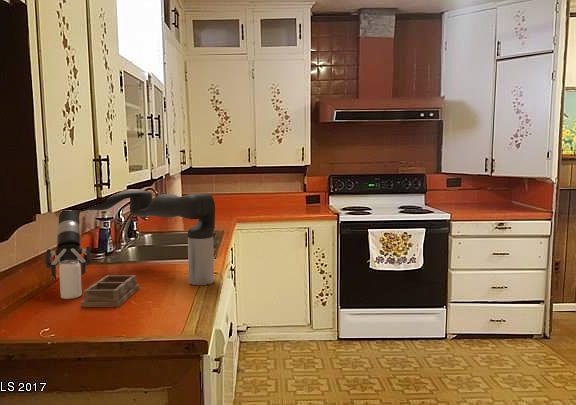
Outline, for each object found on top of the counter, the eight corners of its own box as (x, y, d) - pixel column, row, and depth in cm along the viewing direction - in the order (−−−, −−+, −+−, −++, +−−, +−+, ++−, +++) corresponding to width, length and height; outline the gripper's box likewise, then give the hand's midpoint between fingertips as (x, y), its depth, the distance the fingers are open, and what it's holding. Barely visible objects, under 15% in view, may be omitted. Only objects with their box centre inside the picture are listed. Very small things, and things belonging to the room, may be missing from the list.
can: (76, 299, 159) (75, 263, 158) (57, 299, 159) (55, 263, 158) (84, 293, 166) (83, 259, 165) (66, 294, 166) (64, 259, 165)
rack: (105, 288, 172) (104, 275, 172) (139, 288, 172) (138, 274, 172) (81, 306, 151) (80, 291, 151) (119, 306, 151) (118, 291, 151)
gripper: (90, 240, 178) (91, 279, 168) (47, 243, 172) (46, 283, 163) (90, 228, 172) (91, 267, 163) (45, 231, 167) (44, 271, 158)
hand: (68, 275), depth 163 cm, fingers open, 8 cm apart
